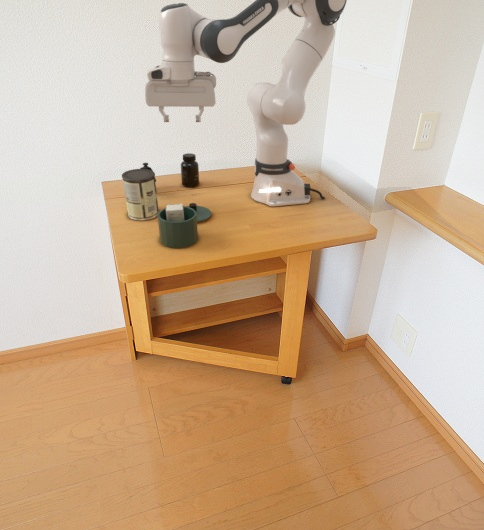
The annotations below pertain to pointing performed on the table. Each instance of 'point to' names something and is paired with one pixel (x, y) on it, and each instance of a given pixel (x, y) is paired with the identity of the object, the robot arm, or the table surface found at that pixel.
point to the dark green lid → (200, 212)
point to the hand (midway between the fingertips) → (182, 121)
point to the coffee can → (140, 194)
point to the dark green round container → (178, 229)
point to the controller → (146, 167)
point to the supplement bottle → (189, 171)
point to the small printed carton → (175, 212)
